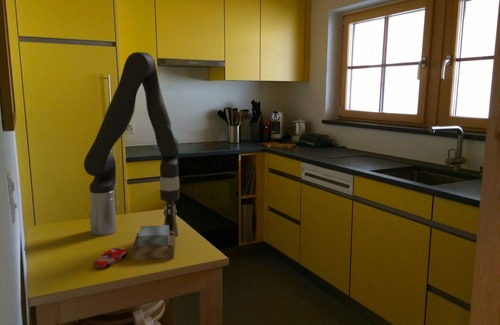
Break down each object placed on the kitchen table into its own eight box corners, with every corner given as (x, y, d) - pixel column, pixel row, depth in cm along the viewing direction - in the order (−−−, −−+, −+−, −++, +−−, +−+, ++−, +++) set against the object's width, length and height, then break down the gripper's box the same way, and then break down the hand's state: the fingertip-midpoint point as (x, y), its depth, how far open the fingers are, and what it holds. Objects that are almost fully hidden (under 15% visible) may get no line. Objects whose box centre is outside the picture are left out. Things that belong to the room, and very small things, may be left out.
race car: (103, 272, 134) (102, 260, 133) (90, 268, 136) (89, 257, 135) (130, 256, 146) (130, 246, 145) (118, 254, 148) (118, 243, 147)
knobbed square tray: (132, 260, 142) (131, 238, 140) (137, 245, 156) (136, 224, 154) (173, 258, 144) (173, 236, 142) (175, 243, 157) (174, 223, 156)
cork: (181, 233, 168) (180, 206, 166) (173, 238, 162) (173, 211, 160) (167, 231, 170) (167, 205, 168) (160, 236, 164) (159, 209, 162)
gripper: (161, 183, 169) (162, 223, 172) (158, 192, 155) (159, 236, 158) (179, 183, 170) (180, 223, 173) (178, 191, 156) (179, 235, 159)
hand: (170, 229), depth 166 cm, fingers closed on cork, 3 cm apart
